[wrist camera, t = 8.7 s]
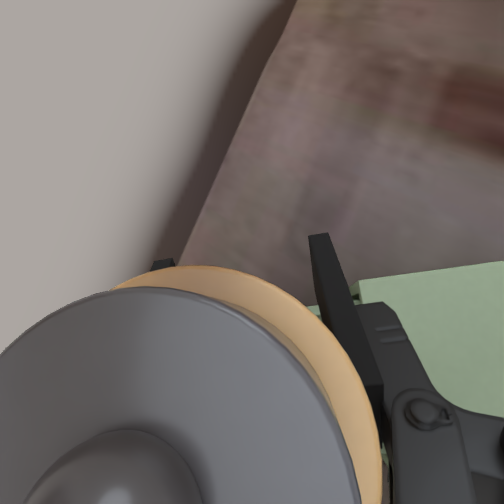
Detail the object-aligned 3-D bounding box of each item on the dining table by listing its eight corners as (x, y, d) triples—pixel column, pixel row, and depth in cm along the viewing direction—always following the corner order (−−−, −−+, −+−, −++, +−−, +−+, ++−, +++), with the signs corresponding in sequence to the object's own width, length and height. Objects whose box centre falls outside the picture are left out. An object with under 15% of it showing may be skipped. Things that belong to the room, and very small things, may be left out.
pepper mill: (311, 300, 20) (380, 152, 2) (327, 397, 19) (688, 1432, 1) (222, 312, 20) (-223, 266, 3) (233, 407, 19) (-393, 1201, 2)
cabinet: (371, 440, 30) (397, 483, 22) (344, 290, 33) (358, 280, 25) (560, 424, 29) (661, 465, 21) (513, 267, 32) (585, 249, 24)
